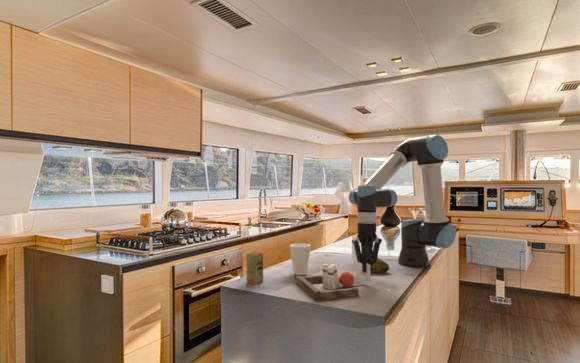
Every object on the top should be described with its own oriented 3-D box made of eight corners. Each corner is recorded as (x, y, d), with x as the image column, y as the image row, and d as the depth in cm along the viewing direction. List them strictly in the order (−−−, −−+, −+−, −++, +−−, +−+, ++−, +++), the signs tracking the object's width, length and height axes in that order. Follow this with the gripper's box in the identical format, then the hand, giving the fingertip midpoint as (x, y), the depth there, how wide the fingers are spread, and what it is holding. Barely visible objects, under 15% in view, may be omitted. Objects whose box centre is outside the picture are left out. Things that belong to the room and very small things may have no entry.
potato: (381, 275, 152) (381, 258, 152) (357, 270, 161) (357, 254, 162) (391, 272, 158) (390, 255, 158) (367, 267, 167) (367, 251, 167)
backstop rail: (333, 279, 146) (333, 272, 146) (358, 295, 125) (358, 287, 125) (296, 283, 141) (296, 276, 141) (315, 300, 120) (315, 291, 120)
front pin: (339, 285, 136) (333, 263, 136) (342, 286, 134) (336, 265, 133) (333, 287, 135) (328, 265, 135) (336, 289, 133) (330, 267, 133)
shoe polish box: (263, 281, 144) (263, 253, 144) (256, 284, 140) (256, 255, 140) (253, 280, 146) (253, 252, 147) (246, 282, 142) (246, 254, 142)
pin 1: (327, 285, 137) (327, 263, 137) (329, 287, 135) (329, 265, 135) (321, 286, 137) (321, 264, 137) (324, 288, 134) (323, 265, 134)
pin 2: (332, 289, 133) (332, 266, 133) (335, 291, 130) (334, 267, 130) (326, 290, 132) (326, 266, 132) (329, 291, 129) (329, 268, 130)
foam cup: (313, 272, 160) (313, 244, 160) (306, 276, 151) (305, 247, 151) (295, 269, 164) (295, 243, 164) (286, 274, 155) (286, 246, 155)
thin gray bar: (364, 284, 139) (364, 284, 139) (365, 285, 138) (365, 284, 138) (346, 286, 136) (346, 286, 136) (347, 287, 135) (347, 286, 135)
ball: (333, 277, 137) (342, 288, 138) (340, 281, 131) (349, 292, 133) (343, 267, 139) (352, 277, 140) (350, 270, 133) (359, 281, 134)
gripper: (375, 220, 144) (376, 276, 144) (348, 222, 141) (348, 279, 140) (385, 222, 137) (386, 281, 137) (357, 223, 133) (357, 284, 133)
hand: (367, 280), depth 138 cm, fingers closed
